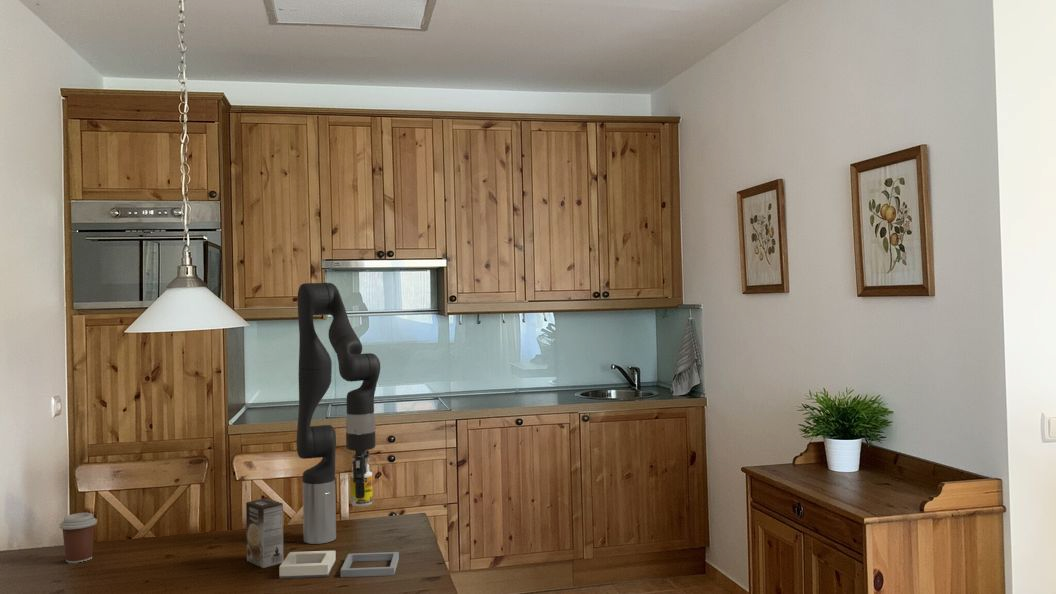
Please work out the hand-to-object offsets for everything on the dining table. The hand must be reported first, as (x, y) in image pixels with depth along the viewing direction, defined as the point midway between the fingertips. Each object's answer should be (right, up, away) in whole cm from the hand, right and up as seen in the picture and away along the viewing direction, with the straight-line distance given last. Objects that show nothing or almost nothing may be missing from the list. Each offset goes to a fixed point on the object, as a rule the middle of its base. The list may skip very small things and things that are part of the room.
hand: (361, 494), depth 216 cm
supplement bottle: (0, -3, 0) cm, 3 cm away
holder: (-14, -19, -1) cm, 24 cm away
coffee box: (-27, -20, +6) cm, 34 cm away
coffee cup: (-79, -21, +10) cm, 83 cm away
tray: (+2, -19, 0) cm, 19 cm away
